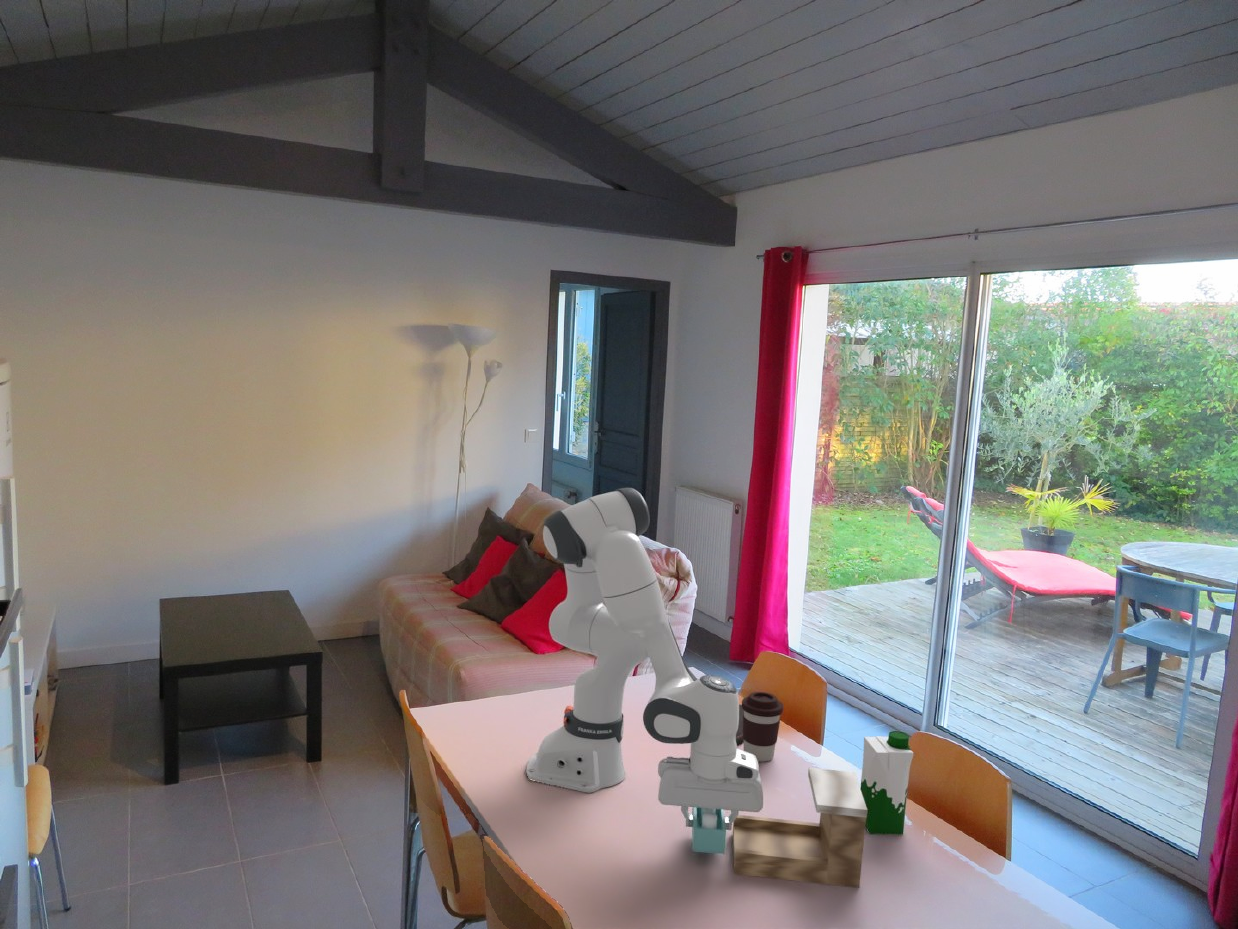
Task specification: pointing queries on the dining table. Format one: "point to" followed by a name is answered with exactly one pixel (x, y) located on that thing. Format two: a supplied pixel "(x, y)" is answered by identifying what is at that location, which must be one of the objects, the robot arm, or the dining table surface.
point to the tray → (708, 830)
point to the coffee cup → (761, 724)
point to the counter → (808, 837)
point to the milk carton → (886, 782)
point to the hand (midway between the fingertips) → (708, 827)
